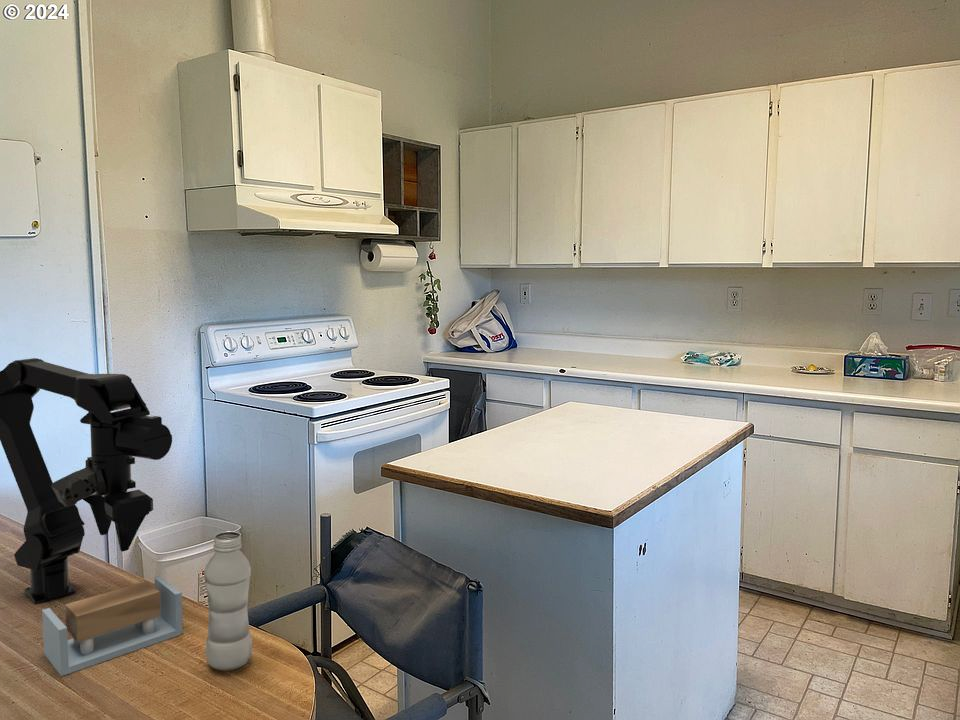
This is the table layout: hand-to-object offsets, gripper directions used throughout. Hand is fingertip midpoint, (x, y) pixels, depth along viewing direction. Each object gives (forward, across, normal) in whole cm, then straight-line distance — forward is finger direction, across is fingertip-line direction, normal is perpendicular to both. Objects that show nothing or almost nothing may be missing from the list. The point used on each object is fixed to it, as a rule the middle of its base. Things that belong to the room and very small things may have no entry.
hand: (113, 542), depth 120 cm
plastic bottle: (+12, +28, +6) cm, 31 cm away
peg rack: (+12, +11, -4) cm, 17 cm away
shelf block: (+8, +11, -4) cm, 14 cm away
